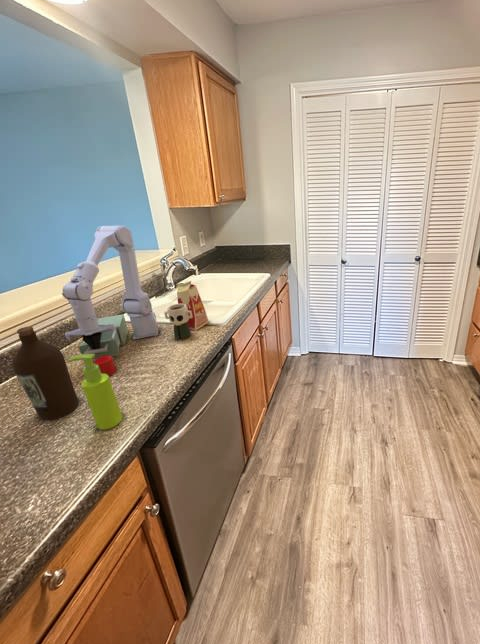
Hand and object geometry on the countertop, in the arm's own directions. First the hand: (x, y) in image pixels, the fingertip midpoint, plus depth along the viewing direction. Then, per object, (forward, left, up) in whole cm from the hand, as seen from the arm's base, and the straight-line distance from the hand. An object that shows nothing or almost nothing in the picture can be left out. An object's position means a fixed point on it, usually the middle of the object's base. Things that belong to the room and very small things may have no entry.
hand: (98, 352), depth 113 cm
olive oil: (+7, +24, -4) cm, 26 cm away
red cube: (-3, +8, -4) cm, 10 cm away
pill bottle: (-13, -39, -4) cm, 41 cm away
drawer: (0, -6, -3) cm, 7 cm away
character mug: (-28, -9, -4) cm, 30 cm away
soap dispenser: (-7, +36, -4) cm, 37 cm away
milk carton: (-33, -19, -4) cm, 38 cm away
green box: (0, -19, -4) cm, 19 cm away
